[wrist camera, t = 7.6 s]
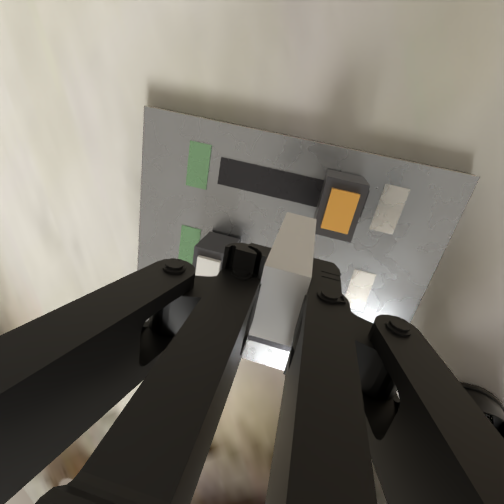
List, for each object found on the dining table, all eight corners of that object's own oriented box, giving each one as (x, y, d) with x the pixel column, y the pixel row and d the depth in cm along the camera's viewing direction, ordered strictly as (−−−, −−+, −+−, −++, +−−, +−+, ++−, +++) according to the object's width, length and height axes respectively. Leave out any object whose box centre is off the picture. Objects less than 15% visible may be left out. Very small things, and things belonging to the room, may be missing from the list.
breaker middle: (232, 278, 32) (219, 301, 28) (204, 271, 32) (187, 292, 28) (239, 238, 30) (226, 256, 26) (209, 231, 30) (192, 247, 26)
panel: (372, 387, 36) (374, 398, 34) (142, 318, 39) (134, 326, 37) (471, 174, 26) (480, 177, 24) (152, 106, 29) (143, 105, 28)
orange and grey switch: (347, 227, 28) (351, 244, 24) (313, 218, 28) (311, 234, 24) (363, 176, 26) (371, 186, 22) (327, 168, 26) (327, 177, 22)
